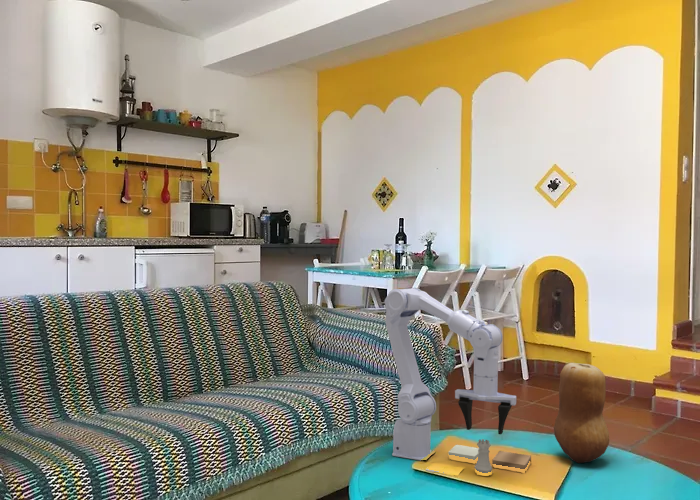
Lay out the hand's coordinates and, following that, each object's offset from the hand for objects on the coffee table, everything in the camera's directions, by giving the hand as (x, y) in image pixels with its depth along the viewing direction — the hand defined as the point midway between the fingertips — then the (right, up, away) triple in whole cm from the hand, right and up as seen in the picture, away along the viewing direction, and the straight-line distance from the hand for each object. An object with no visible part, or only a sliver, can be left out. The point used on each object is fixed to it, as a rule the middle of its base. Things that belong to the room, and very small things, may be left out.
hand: (484, 431), depth 149 cm
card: (-9, -10, +2) cm, 14 cm away
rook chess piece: (0, -11, 0) cm, 11 cm away
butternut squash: (+27, -11, +11) cm, 31 cm away
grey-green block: (-3, -10, +11) cm, 15 cm away
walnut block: (+8, -11, +6) cm, 14 cm away
